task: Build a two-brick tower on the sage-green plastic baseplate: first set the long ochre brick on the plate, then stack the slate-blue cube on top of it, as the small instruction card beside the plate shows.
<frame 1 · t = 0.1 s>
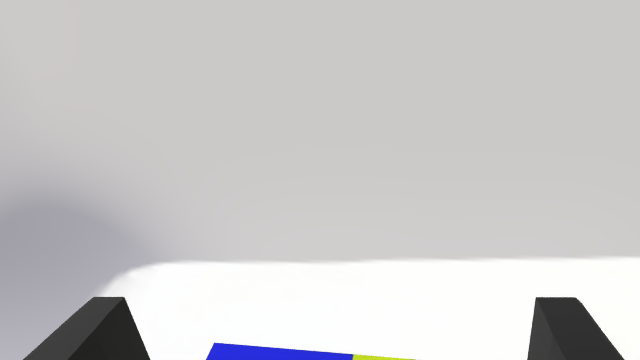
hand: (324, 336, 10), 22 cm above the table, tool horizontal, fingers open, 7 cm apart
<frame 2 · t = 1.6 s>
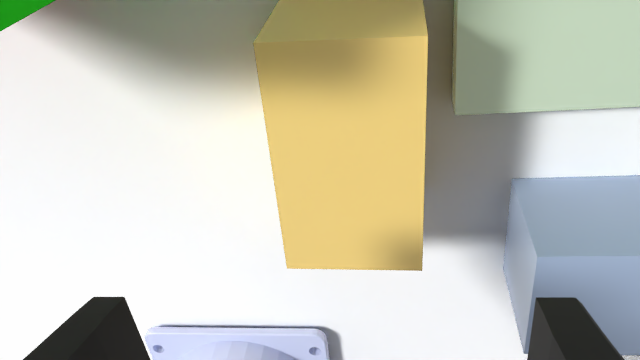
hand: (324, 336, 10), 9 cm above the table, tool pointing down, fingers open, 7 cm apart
ochre brick: (355, 102, 18), on the table
blue cube: (566, 223, 19), on the table
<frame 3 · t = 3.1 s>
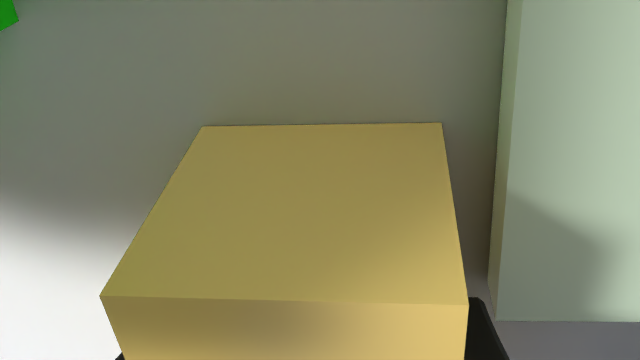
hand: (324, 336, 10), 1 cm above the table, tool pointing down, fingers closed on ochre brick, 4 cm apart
ochre brick: (331, 280, 11), on the table, touching gripper
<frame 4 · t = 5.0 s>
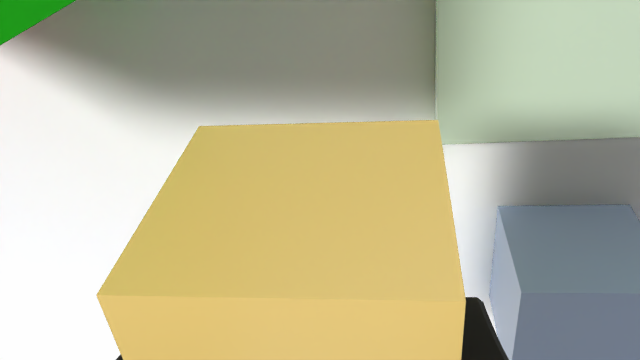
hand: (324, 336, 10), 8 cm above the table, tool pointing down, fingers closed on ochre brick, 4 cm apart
ochre brick: (330, 279, 11), point 7 cm above the table, touching gripper
blue cube: (553, 251, 19), on the table
when the fingers open (3 cm above the table, at t = 7.0 s): ochre brick stays where it is, resting on baseplate.
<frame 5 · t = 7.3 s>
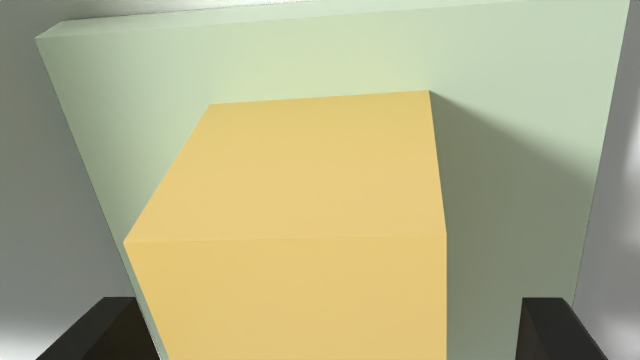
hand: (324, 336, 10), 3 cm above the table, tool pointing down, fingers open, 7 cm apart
ochre brick: (336, 247, 12), point 1 cm above the table, touching baseplate
baseplate: (340, 220, 13), on the table
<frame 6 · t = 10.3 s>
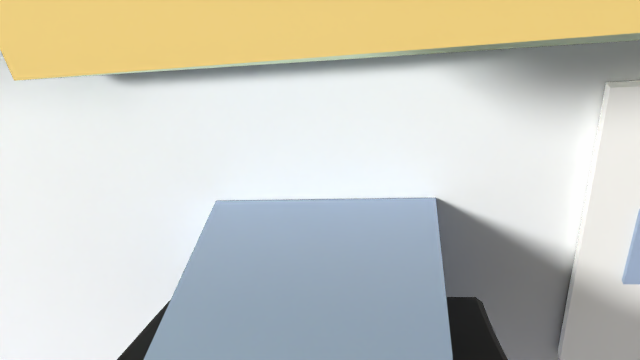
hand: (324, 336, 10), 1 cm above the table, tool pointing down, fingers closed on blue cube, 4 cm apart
blue cube: (331, 281, 11), on the table, touching gripper
when the fingers open (8 cm above the table, at t = 13.3 s): blue cube drops 1 cm, resting on ochre brick.
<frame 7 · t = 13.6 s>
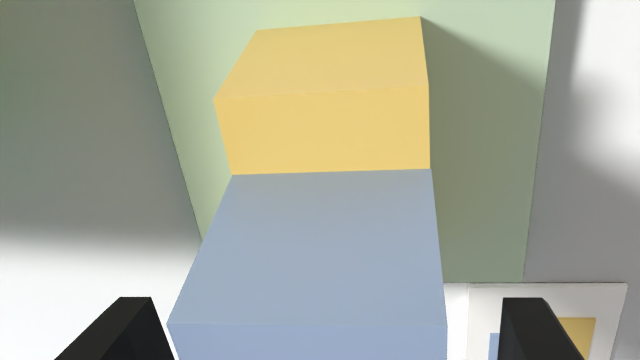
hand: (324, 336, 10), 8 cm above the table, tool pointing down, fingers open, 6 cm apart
instruction page: (536, 344, 20), on the table
ochre brick: (349, 148, 15), point 1 cm above the table, touching baseplate, blue cube
baseplate: (351, 132, 16), on the table
blue cube: (338, 248, 12), point 5 cm above the table, touching ochre brick
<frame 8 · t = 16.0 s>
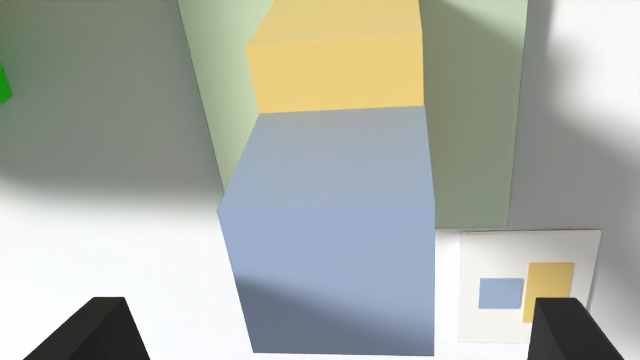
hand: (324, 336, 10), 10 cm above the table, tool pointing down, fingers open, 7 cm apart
instruction page: (522, 289, 23), on the table
ochre brick: (355, 104, 18), point 1 cm above the table, touching baseplate, blue cube
baseplate: (357, 92, 19), on the table
blue cube: (347, 178, 15), point 5 cm above the table, touching ochre brick
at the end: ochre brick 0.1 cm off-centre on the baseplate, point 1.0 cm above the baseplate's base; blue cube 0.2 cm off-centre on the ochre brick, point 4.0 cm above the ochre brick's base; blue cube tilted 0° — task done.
